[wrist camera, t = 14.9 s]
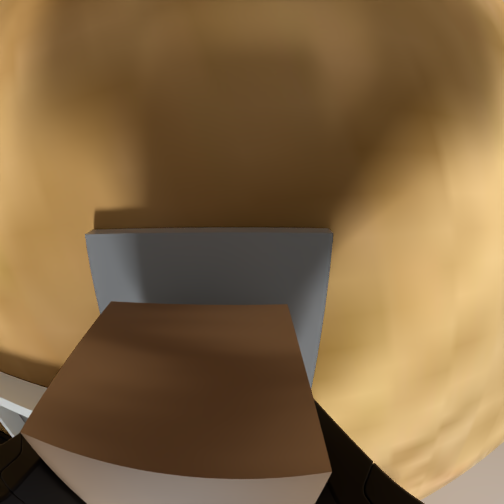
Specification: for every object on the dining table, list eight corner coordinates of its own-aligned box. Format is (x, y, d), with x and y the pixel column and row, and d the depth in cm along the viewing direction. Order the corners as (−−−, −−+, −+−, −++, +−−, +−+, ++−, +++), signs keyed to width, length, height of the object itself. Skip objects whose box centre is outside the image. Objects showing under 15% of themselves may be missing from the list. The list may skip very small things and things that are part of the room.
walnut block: (144, 414, 9) (113, 524, 4) (111, 301, 8) (20, 432, 3) (277, 419, 9) (291, 540, 5) (287, 304, 8) (331, 471, 3)
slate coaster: (133, 395, 12) (129, 404, 11) (93, 229, 9) (84, 234, 8) (304, 401, 12) (306, 410, 11) (327, 228, 9) (333, 233, 9)
